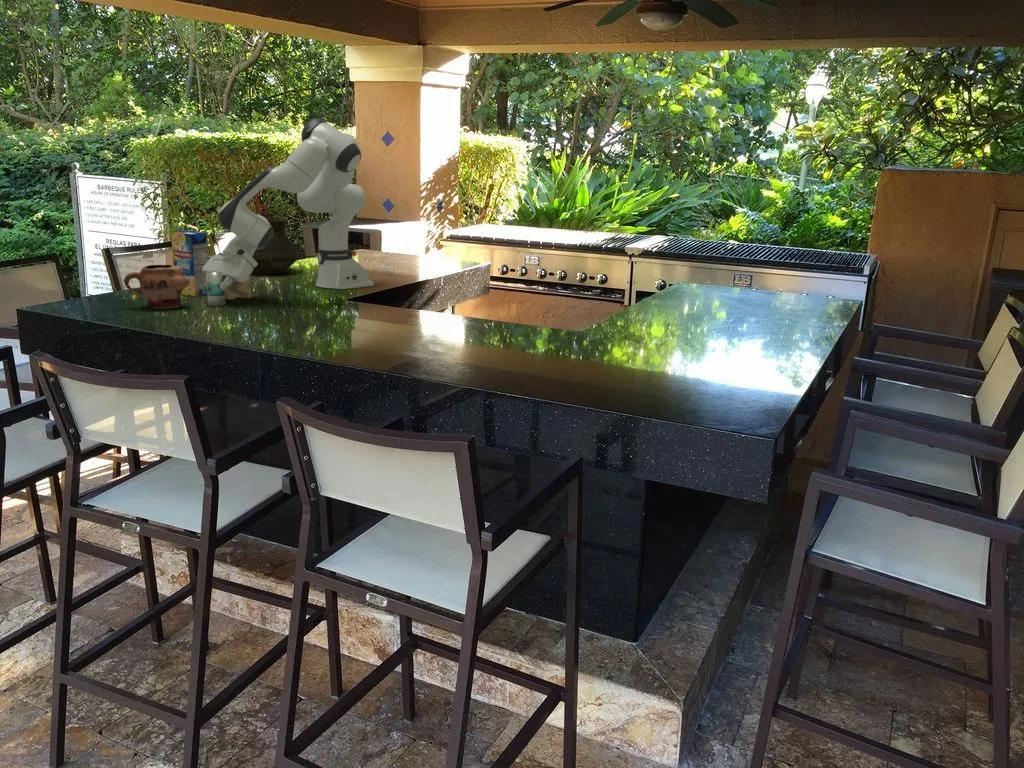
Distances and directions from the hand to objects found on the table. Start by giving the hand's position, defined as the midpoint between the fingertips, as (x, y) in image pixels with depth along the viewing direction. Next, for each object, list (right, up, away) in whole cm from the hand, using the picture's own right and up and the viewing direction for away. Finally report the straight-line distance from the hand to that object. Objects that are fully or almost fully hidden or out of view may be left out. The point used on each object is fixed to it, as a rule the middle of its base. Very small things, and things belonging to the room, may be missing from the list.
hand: (214, 287), depth 289 cm
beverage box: (-14, 0, +20) cm, 24 cm away
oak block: (+1, -1, +17) cm, 17 cm away
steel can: (0, -6, +2) cm, 6 cm away
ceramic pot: (-1, +14, +70) cm, 71 cm away
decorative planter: (-16, -8, -6) cm, 19 cm away
